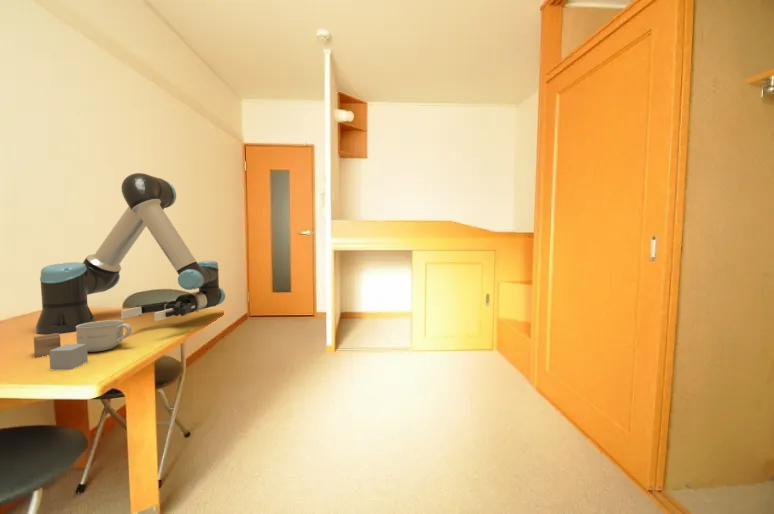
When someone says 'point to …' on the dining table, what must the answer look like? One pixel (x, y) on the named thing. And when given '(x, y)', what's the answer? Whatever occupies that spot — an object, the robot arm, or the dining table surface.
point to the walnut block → (46, 344)
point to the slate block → (68, 356)
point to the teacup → (102, 334)
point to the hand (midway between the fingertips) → (138, 315)
